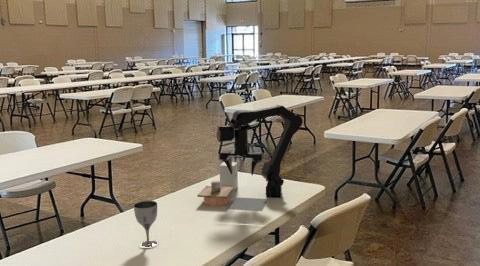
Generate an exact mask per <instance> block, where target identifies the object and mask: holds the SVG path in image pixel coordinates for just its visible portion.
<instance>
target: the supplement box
mask: <svg viewBox="0 0 480 266" xmlns="http://www.w3.org/2000/svg"><path fill="white" fill-rule="evenodd" d="M232 170H233V174H231V173H230V171H229V169H228V167H227V165H226V163H225V162H223V161H222V162H221V164H220V165H219V181H220V186H221V187H234V190H233V191H232V192H235V191H236V190H237V189H238V187H239V182H238V181H239V180H238V175H239V174H238V162H237V161H232Z"/></svg>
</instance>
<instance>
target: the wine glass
mask: <svg viewBox="0 0 480 266" xmlns="http://www.w3.org/2000/svg"><path fill="white" fill-rule="evenodd" d="M133 211H134V217H135V219H136V222H138V224H139V225H141V226H142V228H143V229H144V231H145V234H146V235H145V236H146V240H144V241H145V242H144V241H142V242H143V243H142V246H145V247H150V246H151V247H152V246H155V245H156V244H157V242H158V241H157V242H156V240H153V241H149V240H150V229H151V227H152V225H153V224H154V223H155V222H156V220H157V216H158V202H157V201H155V200H142V201H138V202H136V203H133Z"/></svg>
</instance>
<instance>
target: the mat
mask: <svg viewBox="0 0 480 266" xmlns="http://www.w3.org/2000/svg"><path fill="white" fill-rule="evenodd" d="M268 200H269V198H259V197H258V198H256V197H255V198H254V197H240V196H239V197H237V196H236V197H234V198H233V200H232V201H231V202H230V204H229V206H228V207H227V209H226V210H236V211H252V212H263V210H264V208H265V207H266V205H267V202H268Z"/></svg>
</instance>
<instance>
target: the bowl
mask: <svg viewBox="0 0 480 266" xmlns="http://www.w3.org/2000/svg"><path fill="white" fill-rule="evenodd" d="M229 202H230V195H229V196H228V197H227V198H210V197H203V203H204V204H205V205H208V206H212V207H213V206H215V207H216V206H224V205H227V204H228V203H229Z"/></svg>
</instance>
